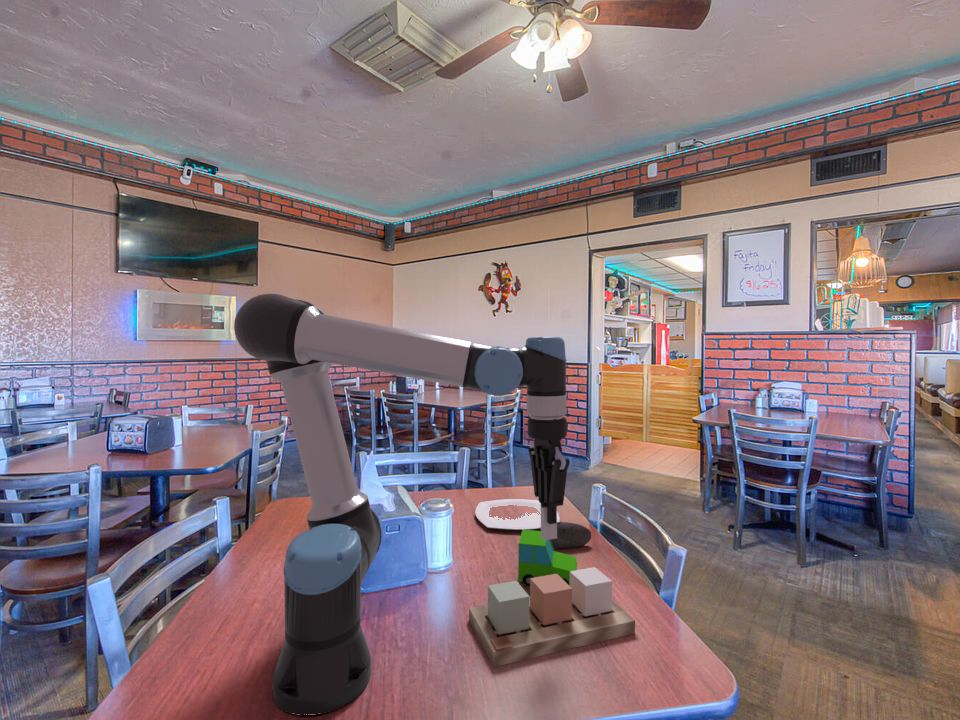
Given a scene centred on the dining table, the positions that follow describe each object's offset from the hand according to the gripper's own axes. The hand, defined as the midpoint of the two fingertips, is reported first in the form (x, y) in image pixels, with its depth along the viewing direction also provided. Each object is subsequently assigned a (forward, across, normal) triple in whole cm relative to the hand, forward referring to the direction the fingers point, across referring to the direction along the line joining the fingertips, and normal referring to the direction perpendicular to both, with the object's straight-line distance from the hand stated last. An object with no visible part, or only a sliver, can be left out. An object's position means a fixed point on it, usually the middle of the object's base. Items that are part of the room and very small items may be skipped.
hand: (549, 537), depth 87 cm
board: (+18, +1, 0) cm, 18 cm away
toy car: (+18, +17, -8) cm, 26 cm away
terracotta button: (+15, 0, 0) cm, 15 cm away
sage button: (+15, 0, +9) cm, 17 cm away
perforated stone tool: (+19, +32, -21) cm, 42 cm away
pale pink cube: (+16, +1, -9) cm, 18 cm away
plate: (+18, +56, -17) cm, 61 cm away
